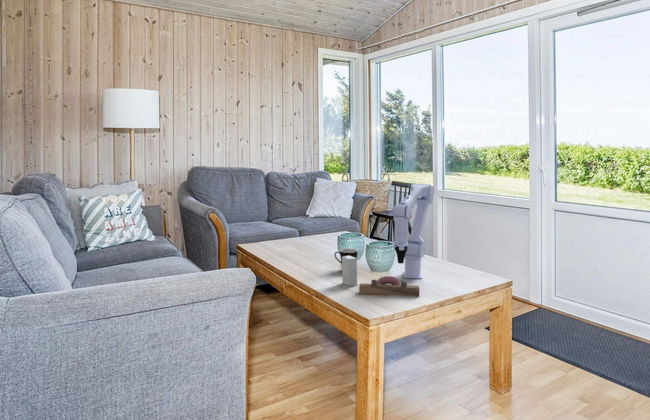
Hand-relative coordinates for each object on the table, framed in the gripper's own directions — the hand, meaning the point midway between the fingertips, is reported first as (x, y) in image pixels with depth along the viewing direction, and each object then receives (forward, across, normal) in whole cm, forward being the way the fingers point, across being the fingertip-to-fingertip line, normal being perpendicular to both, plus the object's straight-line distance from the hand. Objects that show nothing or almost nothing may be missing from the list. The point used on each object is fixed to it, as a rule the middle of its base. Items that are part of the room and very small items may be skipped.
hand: (400, 263), depth 197 cm
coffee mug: (+10, -20, -25) cm, 33 cm away
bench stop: (+9, +14, -5) cm, 18 cm away
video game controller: (+10, +10, -5) cm, 15 cm away
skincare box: (+10, +3, -22) cm, 24 cm away
